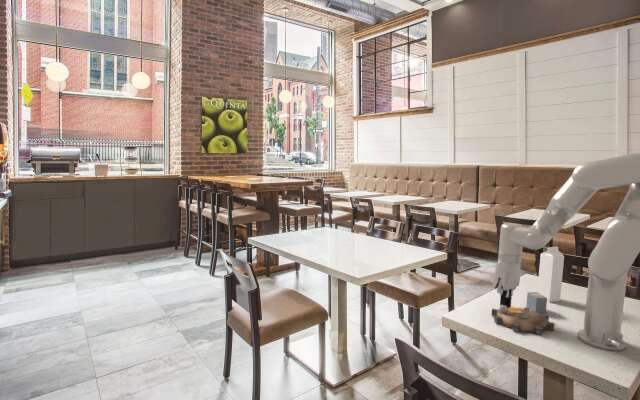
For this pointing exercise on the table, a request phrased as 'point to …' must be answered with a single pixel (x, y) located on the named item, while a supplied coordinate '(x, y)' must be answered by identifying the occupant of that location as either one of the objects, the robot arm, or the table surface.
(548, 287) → the milk
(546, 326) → the sprocket
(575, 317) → the table surface
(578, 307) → the table surface
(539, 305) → the link block
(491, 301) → the table surface
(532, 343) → the table surface
